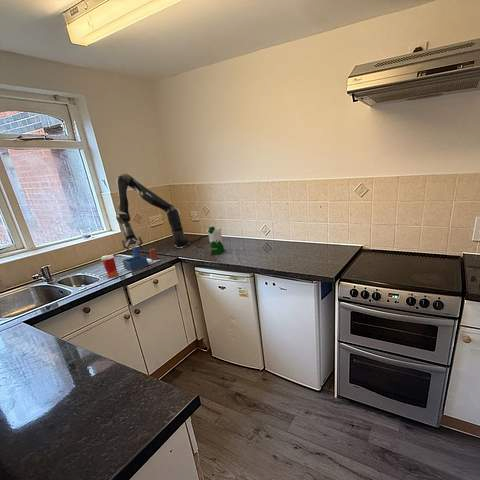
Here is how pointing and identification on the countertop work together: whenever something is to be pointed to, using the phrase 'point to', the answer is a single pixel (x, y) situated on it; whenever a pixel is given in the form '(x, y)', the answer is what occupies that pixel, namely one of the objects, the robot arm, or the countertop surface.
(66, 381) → the countertop surface
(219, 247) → the milk carton
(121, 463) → the countertop surface
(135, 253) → the blue skittle
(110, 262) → the beer glass
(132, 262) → the blue bin
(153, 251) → the terracotta skittle
